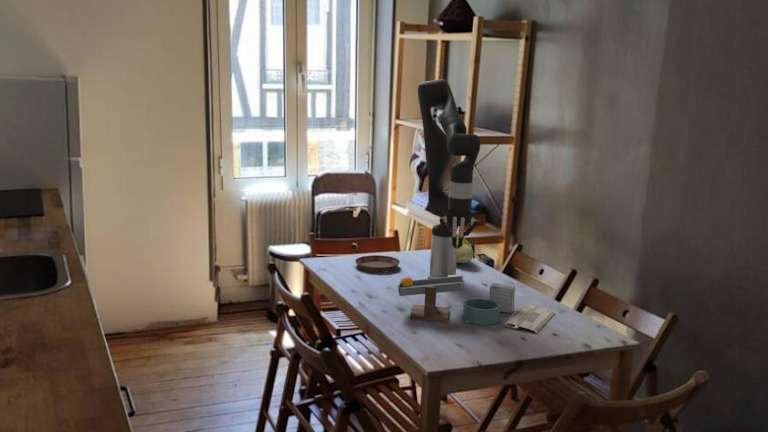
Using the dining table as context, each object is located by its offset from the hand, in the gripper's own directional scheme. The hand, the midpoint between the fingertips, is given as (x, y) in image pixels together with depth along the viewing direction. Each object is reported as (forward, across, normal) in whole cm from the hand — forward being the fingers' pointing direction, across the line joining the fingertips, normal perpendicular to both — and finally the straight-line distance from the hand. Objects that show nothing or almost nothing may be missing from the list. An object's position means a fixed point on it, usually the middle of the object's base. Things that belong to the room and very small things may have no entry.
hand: (457, 247), depth 233 cm
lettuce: (+21, -1, +58) cm, 62 cm away
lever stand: (+21, -7, -8) cm, 24 cm away
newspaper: (+22, +24, -5) cm, 33 cm away
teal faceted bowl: (+21, +9, -8) cm, 24 cm away
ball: (+11, -15, -8) cm, 20 cm away
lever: (+14, -7, -5) cm, 16 cm away
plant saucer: (+22, -32, +42) cm, 57 cm away
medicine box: (+21, +16, +2) cm, 27 cm away
